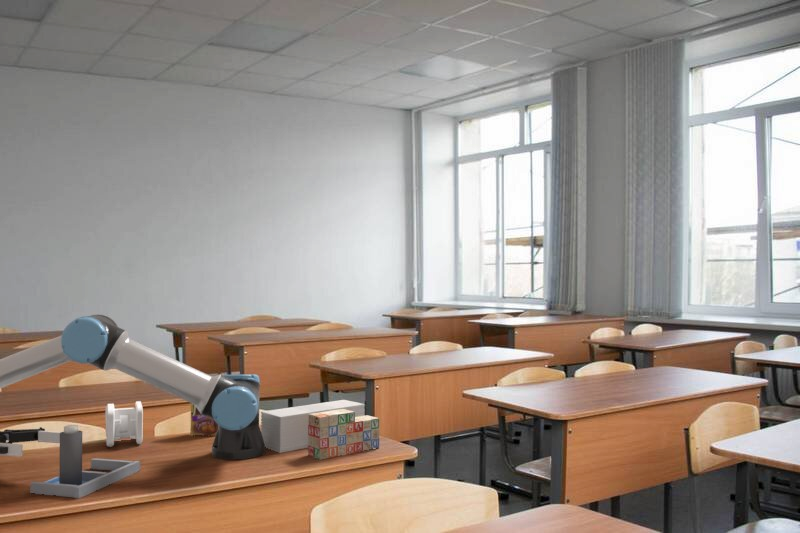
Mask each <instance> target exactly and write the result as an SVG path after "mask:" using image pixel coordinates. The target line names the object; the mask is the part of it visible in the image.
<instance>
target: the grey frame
mask: <svg viewBox="0 0 800 533" xmlns="http://www.w3.org/2000/svg"><path fill="white" fill-rule="evenodd" d="M90 469H91V470H82V484H81V485H79V486H78V485H70V484H59V475H58V476H56V477H52V478H50V479H48V480H45V481H35V480H34V481H32V482H30V483H29V484H30V488H29V490H30V492H29V493H30V494H31V493H35V494H34V495H42V494H44V495H43V496H53V495H56V496H55V497H65V498H66V497H68V498H74V499H81V498H83V497H86V496H87V495H90V494H92V493H94V492H96V490H97V491H98V490H100V489H103V488H106V487H107V486H110V485H111V484H114V483H116V482H118V481H121V480H122V479H125V478H126V477H129V476H132V475H133V474H136V473H139V472H140V471H141V461H140V460H135V461H134V460H120V459H109V458H91V459H90ZM92 470H93V471H92ZM94 470H102V471H94ZM103 470H104V472H103ZM106 471H109V472H106ZM109 484H110V485H109Z"/></svg>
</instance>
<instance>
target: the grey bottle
mask: <svg viewBox="0 0 800 533" xmlns="http://www.w3.org/2000/svg"><path fill="white" fill-rule="evenodd" d="M60 432H61V433H60V443H59V471H58V472H59V474H58V476H59V484H70V485H78V486H79V485H81V484H82V471H83V431H82V430H79V425H78V424H71V425H70V424H69V425H64V426H63V431H60Z"/></svg>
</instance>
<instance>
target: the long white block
mask: <svg viewBox="0 0 800 533" xmlns="http://www.w3.org/2000/svg"><path fill="white" fill-rule="evenodd" d="M365 407H366V406H365V404H364V403H362V402H357V401H351V400H347V399H339V400H331V401H326V402H319V403H318V402H317V403H312V404H306V405H299V406H291V407H283V408H277V409H269V410H264V411H263V410H262V411H260V412H261V413H260V414H261V415H260V417H261V418H260V421H261V422H260V430H261V434H262V437H263V440H264V443H265V447H266V448H265V449H267V448H268V450H270V449H271V450H270V451H274V452H277V453H279V454H281V453H287V452H293V451H297V450H303V449H308V445H309V438H308V425H309V414H312V413H319V412H325V411H331V410H338V409H346V410H350V411H354V412H355V417H358V416H365Z"/></svg>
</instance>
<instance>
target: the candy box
mask: <svg viewBox="0 0 800 533" xmlns="http://www.w3.org/2000/svg"><path fill="white" fill-rule="evenodd" d="M217 430H218V424H217V423H216V422H215V420H213V419H211V418H209V417H207V416H205V415H202V414H200V411H199V408H198V406H197V405H194V404H192V403H190V432H189V435H190V437H196V436H195V435H202V436H201V437H205V436H204V435H208V436H209V437H210V435H211V437H212V436H214V437H215V436H216V433H217ZM193 435H194V436H193ZM208 436H207V437H208Z"/></svg>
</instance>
